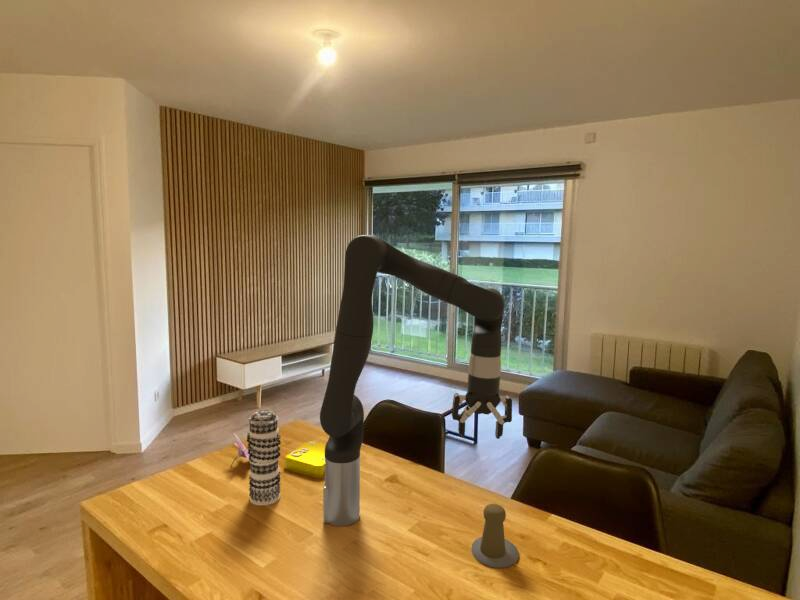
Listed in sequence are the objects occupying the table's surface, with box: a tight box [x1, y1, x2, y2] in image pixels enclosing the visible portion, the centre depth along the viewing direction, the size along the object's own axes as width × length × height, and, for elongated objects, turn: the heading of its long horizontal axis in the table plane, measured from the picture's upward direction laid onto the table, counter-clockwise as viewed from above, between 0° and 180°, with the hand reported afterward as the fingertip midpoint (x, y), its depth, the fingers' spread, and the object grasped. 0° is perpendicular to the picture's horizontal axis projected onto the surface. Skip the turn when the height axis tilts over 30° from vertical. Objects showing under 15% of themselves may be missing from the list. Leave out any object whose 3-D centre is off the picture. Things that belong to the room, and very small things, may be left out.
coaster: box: [471, 536, 519, 569], centre depth 114 cm, size 11×11×1 cm
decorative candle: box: [246, 409, 282, 507], centre depth 134 cm, size 9×9×25 cm
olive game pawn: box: [480, 503, 507, 558], centre depth 113 cm, size 6×6×11 cm
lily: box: [230, 433, 249, 468], centre depth 155 cm, size 12×12×10 cm
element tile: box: [284, 440, 326, 479], centre depth 157 cm, size 15×15×5 cm
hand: (480, 436), depth 116 cm, fingers open, 8 cm apart
